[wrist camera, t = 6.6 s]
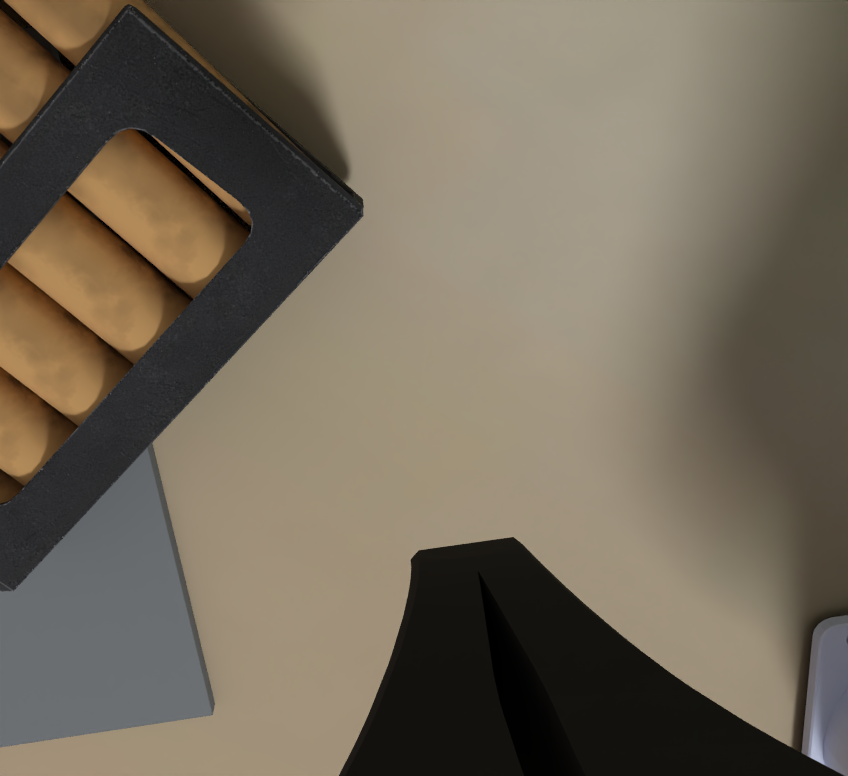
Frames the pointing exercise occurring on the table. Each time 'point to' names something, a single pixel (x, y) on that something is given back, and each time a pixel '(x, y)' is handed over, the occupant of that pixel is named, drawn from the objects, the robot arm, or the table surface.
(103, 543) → the rubber mat
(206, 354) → the ammunition clip
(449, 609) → the robot arm
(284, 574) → the table surface
